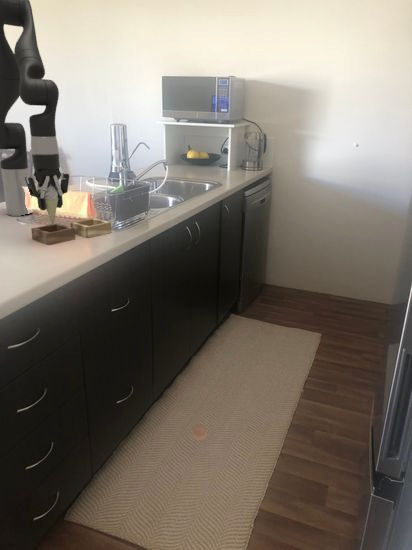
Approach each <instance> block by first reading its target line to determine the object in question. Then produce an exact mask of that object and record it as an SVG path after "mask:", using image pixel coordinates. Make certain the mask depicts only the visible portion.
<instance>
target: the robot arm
mask: <svg viewBox="0 0 412 550" xmlns="http://www.w3.org/2000/svg"><path fill="white" fill-rule="evenodd" d="M5 25H7V26H13V27H19V28H21V27H22V32H21V34H20V36H19V37H18V39H17V40H16V42H15V44H14V45H15V46H14V51H13V49H12V47H11V46H10V43H9V41H8V40H7V37H6V33H5ZM36 33H37V31H36V27H35V21H34V13H33V9H32V4H31V1H30V0H0V150H14V153H13V154H12V155H10V156H8V157H6V158H3V159H2V160H1V161H0V169H1V170H0V171H1V177H2V182H3V194H4V201H5V207H6V208H5V210H6V213H7V215H8V216H10V217H11V216H14V217H22V216H21V215H24V216H26V215H25V214H28V210H27V208H26V205H25V192H24V190H23V188H22V186H28V189H29V192H30V195H31V197H34V198H37V206H38V209H39V210H40V211H47V210H46V205H45V198H44V194H45V191H46V190H47V187H49V186H50V185H51V186H53V187H54V189H56V190H57V193H58V198H59V199H58V203H57V208H58V209H60V208H61V209H62V208H63V205H64V203H63V195H64V194H67V193H68V190H69V182H70V174H69V173H65V172H63V173H62V172H61V170H60V166H61V165H60V154H59V145H58V140H57V139H58V138H57V132H56V131H57V130H56V114H57V106H58V103H59V102H58V101H59V95H60V93H59V92H60V91H59V87H58V85H57V83H55V81H54V80H52V79H48V78H47V79H45V78H44V77H45V75H46V69H45V65H44V63H43V62H44V61H43V59H42V57H41V53H40V49H39V46H38V45H39V44H38V41H37V34H36ZM19 98H20V100H21V101H22V102H23V103H24V104H26V105H27V106H41V107H44V106H45V109H44V110H43V112H41V113H35V114H32V115H30V116H29V120H28V123H29V131H30V148H31V157H32V167H33V169H34V172H33V175H31V176H30V174H29V165H28V163H29V162H28V151H27V135H26V131H25V128H24V125H23V123H21V122H6V119H7V115H8V113H9V111H10V110H11V108H12V107H13V106H14V104H16V102H17V101H18V99H19ZM36 182H37V185H36Z"/></svg>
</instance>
